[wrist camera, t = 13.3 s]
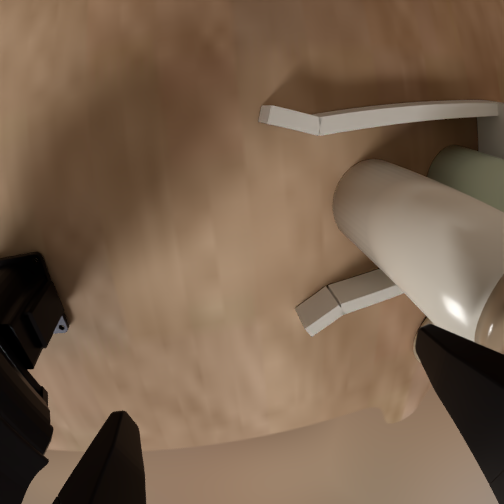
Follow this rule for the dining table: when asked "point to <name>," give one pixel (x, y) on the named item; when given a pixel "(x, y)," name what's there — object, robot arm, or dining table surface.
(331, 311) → the white u-shaped frame
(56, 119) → the dining table surface
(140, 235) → the dining table surface
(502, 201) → the grey-green cylinder
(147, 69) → the dining table surface
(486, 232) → the cream jar
